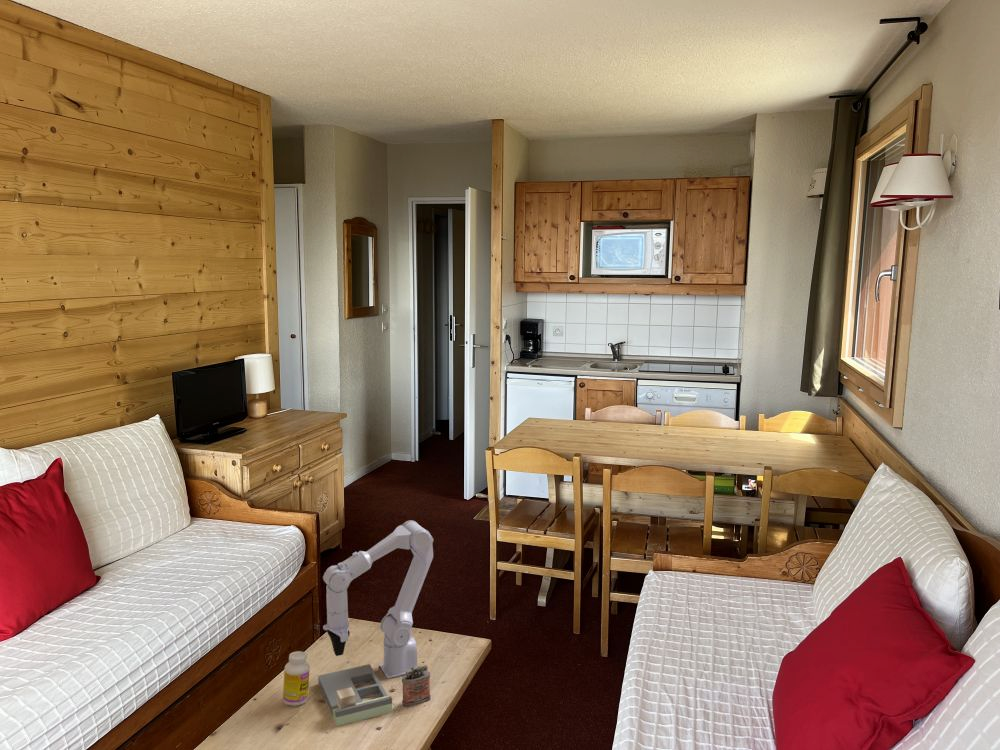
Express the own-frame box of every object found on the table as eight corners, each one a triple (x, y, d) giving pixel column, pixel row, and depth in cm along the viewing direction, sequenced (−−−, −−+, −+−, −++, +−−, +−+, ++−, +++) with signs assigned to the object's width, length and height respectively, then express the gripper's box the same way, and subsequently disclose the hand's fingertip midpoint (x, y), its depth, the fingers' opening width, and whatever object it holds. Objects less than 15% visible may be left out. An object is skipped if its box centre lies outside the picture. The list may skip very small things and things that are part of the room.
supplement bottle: (299, 708, 203) (302, 662, 202) (277, 703, 205) (280, 658, 204) (312, 696, 209) (314, 652, 208) (290, 692, 211) (293, 647, 210)
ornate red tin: (404, 708, 204) (404, 674, 202) (400, 702, 207) (399, 668, 205) (432, 700, 208) (432, 666, 206) (427, 694, 210) (427, 661, 209)
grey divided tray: (369, 671, 222) (369, 659, 221) (392, 712, 202) (392, 698, 202) (318, 683, 216) (318, 670, 215) (336, 726, 196) (336, 712, 195)
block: (352, 701, 203) (351, 687, 202) (355, 708, 199) (355, 694, 199) (337, 704, 201) (336, 690, 201) (340, 712, 198) (340, 698, 197)
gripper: (317, 601, 216) (318, 645, 218) (329, 623, 203) (331, 670, 205) (341, 596, 219) (342, 640, 221) (355, 617, 207) (356, 663, 209)
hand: (338, 654), depth 214 cm, fingers closed
